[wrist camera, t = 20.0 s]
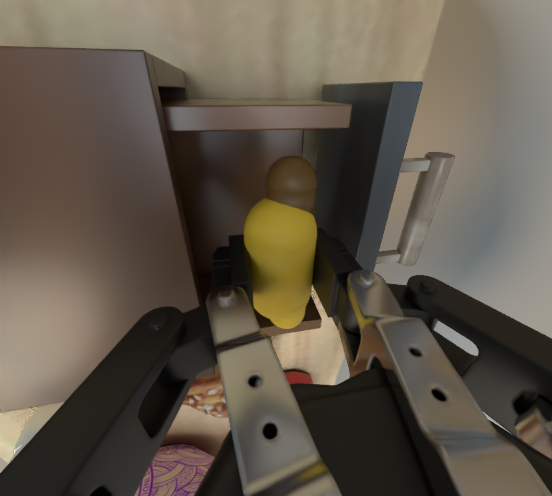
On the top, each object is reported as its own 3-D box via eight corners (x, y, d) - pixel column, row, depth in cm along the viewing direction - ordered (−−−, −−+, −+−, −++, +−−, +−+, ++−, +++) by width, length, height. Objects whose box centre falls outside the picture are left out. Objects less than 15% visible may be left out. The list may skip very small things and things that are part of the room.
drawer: (415, 85, 16) (536, 82, 10) (371, 260, 23) (425, 321, 17) (94, 83, 13) (-18, 77, 7) (158, 284, 20) (131, 368, 14)
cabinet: (184, 71, 14) (144, 49, 6) (216, 276, 22) (215, 376, 14) (-142, 66, 12) (-797, 23, 4) (24, 298, 20) (-100, 430, 12)
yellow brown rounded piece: (222, 157, 9) (275, 176, 7) (287, 147, 11) (344, 160, 9) (239, 325, 14) (274, 365, 12) (282, 300, 15) (319, 331, 13)
